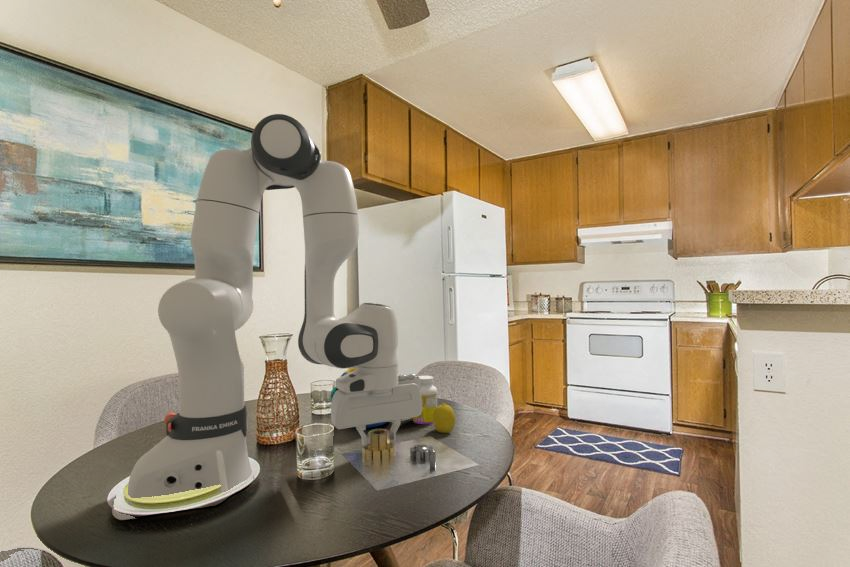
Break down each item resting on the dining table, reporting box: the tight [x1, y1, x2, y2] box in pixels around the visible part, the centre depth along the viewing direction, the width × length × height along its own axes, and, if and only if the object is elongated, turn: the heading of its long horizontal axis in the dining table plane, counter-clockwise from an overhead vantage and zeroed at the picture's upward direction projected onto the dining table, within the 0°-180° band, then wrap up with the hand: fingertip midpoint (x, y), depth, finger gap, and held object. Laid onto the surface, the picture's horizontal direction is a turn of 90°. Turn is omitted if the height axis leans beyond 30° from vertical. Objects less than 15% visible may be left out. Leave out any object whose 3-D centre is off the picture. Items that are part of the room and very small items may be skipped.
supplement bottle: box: [412, 375, 438, 426], centre depth 117 cm, size 7×7×13 cm
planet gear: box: [361, 428, 396, 460], centre depth 93 cm, size 7×7×5 cm
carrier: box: [341, 436, 480, 492], centre depth 90 cm, size 22×20×5 cm
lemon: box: [433, 402, 456, 434], centre depth 108 cm, size 6×6×8 cm
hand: (378, 442), depth 93 cm, fingers closed on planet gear, 4 cm apart
